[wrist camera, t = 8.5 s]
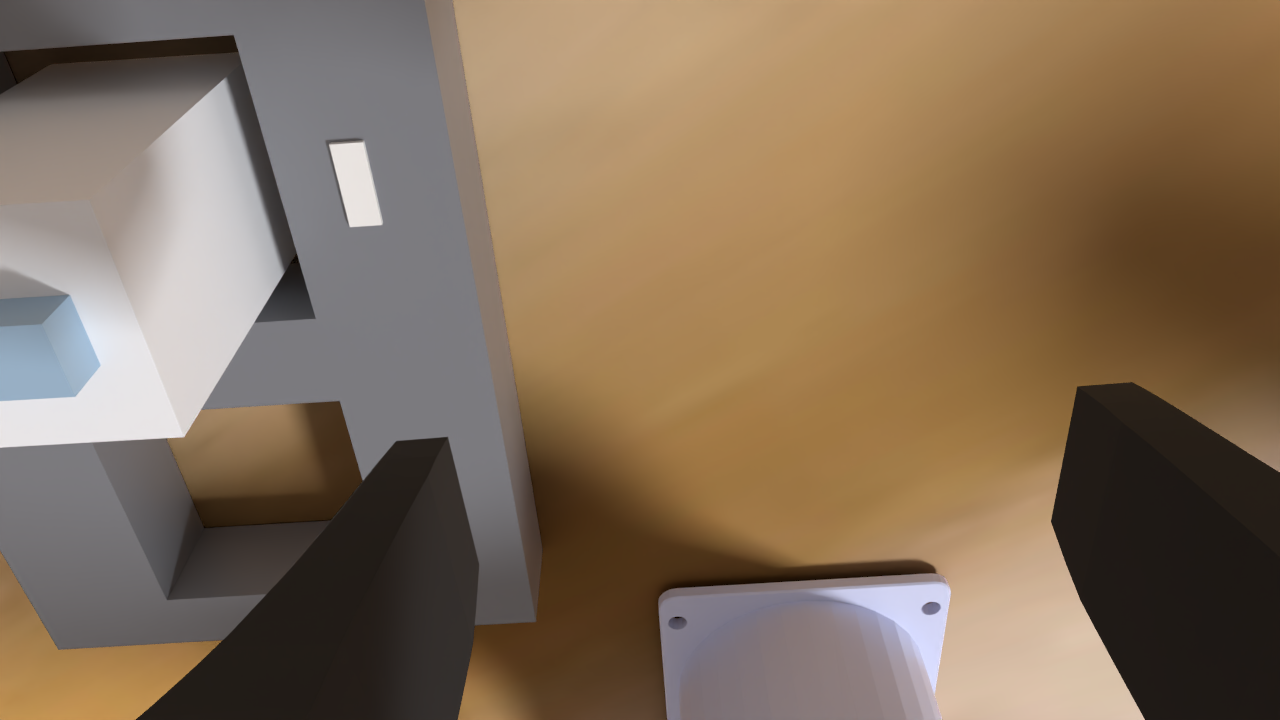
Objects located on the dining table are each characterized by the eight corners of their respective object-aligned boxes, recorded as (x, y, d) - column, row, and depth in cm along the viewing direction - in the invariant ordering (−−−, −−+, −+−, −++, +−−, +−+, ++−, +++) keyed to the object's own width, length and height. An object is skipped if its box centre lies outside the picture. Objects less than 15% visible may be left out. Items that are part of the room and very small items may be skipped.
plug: (306, 237, 21) (163, 470, 14) (122, 248, 21) (-101, 485, 14) (255, 51, 19) (60, 226, 12) (50, 63, 19) (-252, 244, 12)
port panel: (543, 549, 26) (535, 625, 24) (102, 576, 26) (56, 652, 24) (435, -101, 17) (409, -76, 15) (-224, -53, 18) (-343, -21, 15)
